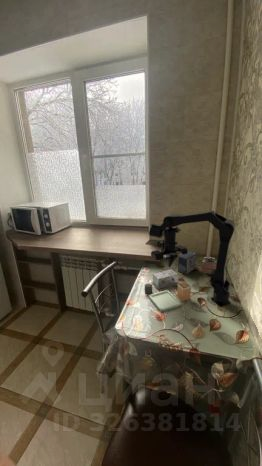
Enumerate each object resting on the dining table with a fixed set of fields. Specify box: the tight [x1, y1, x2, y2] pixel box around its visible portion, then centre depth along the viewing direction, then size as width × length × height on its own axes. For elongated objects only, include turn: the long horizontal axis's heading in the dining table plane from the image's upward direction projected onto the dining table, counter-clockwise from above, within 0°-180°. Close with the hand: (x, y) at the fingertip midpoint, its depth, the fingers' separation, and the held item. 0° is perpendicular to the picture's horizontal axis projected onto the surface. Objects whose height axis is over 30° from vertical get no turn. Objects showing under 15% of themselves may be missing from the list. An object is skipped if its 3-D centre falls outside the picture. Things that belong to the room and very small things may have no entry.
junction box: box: [150, 268, 180, 291], centre depth 115 cm, size 7×13×6 cm, turn 112°
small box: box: [177, 251, 197, 275], centre depth 128 cm, size 11×6×10 cm, turn 134°
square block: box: [176, 281, 192, 302], centre depth 103 cm, size 5×5×7 cm
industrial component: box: [177, 244, 187, 257], centre depth 138 cm, size 9×7×12 cm
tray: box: [148, 289, 182, 313], centre depth 101 cm, size 12×11×1 cm
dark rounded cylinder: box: [144, 283, 153, 296], centre depth 108 cm, size 4×4×4 cm
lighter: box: [201, 256, 217, 275], centre depth 124 cm, size 8×3×10 cm, turn 77°
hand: (168, 267), depth 109 cm, fingers closed
